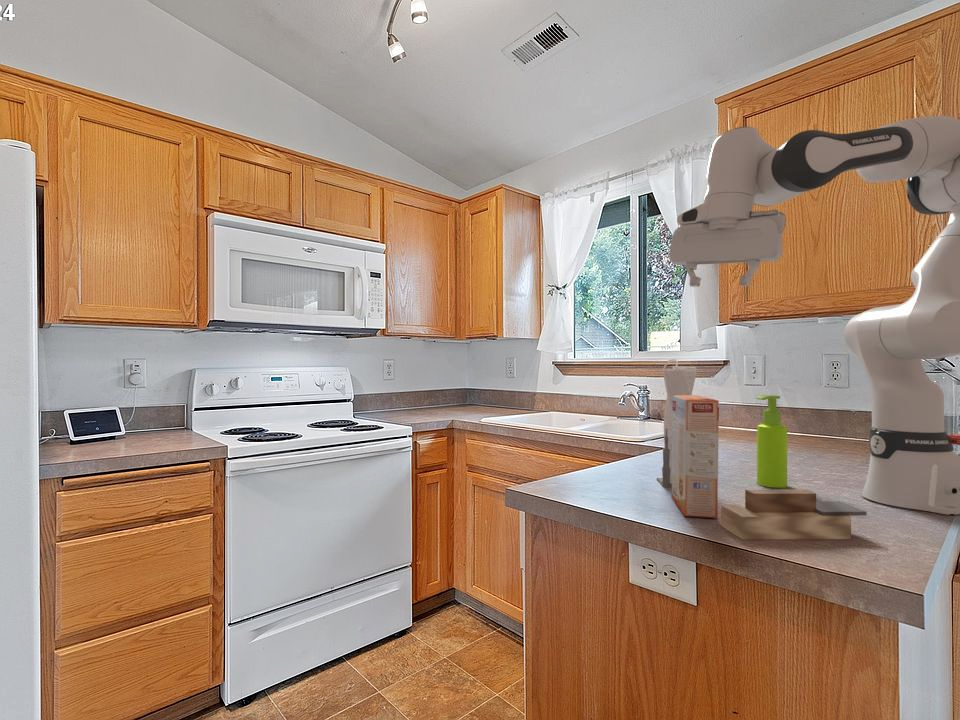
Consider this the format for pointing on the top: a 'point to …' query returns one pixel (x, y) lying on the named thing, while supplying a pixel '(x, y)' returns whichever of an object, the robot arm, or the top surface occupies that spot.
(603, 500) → the top surface
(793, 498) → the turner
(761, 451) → the soap dispenser
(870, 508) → the top surface
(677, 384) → the skyscraper
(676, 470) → the cracker box
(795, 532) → the beech board
